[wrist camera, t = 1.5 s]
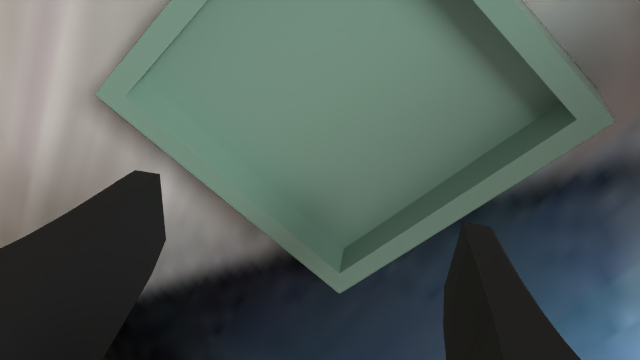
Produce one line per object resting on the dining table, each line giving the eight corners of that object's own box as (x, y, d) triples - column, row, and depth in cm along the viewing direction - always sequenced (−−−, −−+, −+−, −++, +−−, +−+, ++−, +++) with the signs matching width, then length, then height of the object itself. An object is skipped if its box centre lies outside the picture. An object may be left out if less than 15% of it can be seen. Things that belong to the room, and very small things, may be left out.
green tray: (599, 92, 19) (615, 121, 18) (345, 260, 25) (339, 293, 24) (347, -209, 16) (338, -207, 14) (119, 71, 22) (94, 94, 20)
